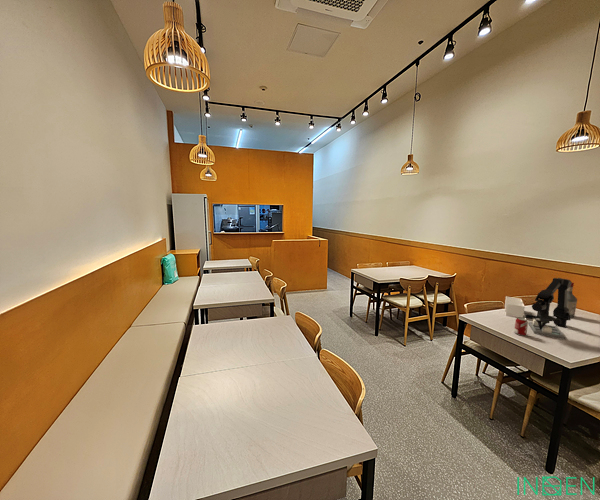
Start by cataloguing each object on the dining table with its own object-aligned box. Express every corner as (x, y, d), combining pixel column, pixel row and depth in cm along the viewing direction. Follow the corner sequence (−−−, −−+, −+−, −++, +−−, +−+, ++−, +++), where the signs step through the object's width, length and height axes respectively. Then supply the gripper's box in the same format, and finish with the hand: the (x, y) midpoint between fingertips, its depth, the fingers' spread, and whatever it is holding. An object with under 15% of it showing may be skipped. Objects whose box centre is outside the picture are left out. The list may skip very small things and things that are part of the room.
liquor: (575, 317, 209) (581, 283, 204) (567, 318, 207) (573, 284, 202) (562, 313, 217) (567, 280, 213) (554, 314, 215) (560, 281, 211)
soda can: (515, 334, 176) (517, 319, 175) (512, 331, 182) (514, 316, 181) (527, 337, 173) (530, 321, 172) (524, 333, 179) (526, 317, 177)
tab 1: (532, 324, 192) (533, 318, 191) (539, 325, 190) (540, 319, 189) (533, 325, 189) (534, 319, 189) (540, 326, 187) (541, 321, 186)
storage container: (522, 318, 205) (524, 306, 204) (505, 315, 212) (507, 303, 210) (519, 310, 225) (521, 298, 223) (504, 307, 231) (505, 296, 230)
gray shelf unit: (528, 324, 195) (528, 321, 194) (556, 329, 186) (556, 326, 186) (534, 333, 179) (534, 330, 179) (565, 339, 170) (565, 336, 170)
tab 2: (542, 330, 180) (543, 325, 179) (549, 332, 178) (550, 326, 177) (543, 332, 177) (544, 326, 177) (551, 334, 175) (552, 328, 175)
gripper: (528, 309, 176) (525, 330, 178) (565, 315, 166) (561, 337, 168) (525, 305, 185) (522, 324, 187) (560, 310, 175) (556, 330, 177)
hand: (540, 329), depth 179 cm, fingers closed
